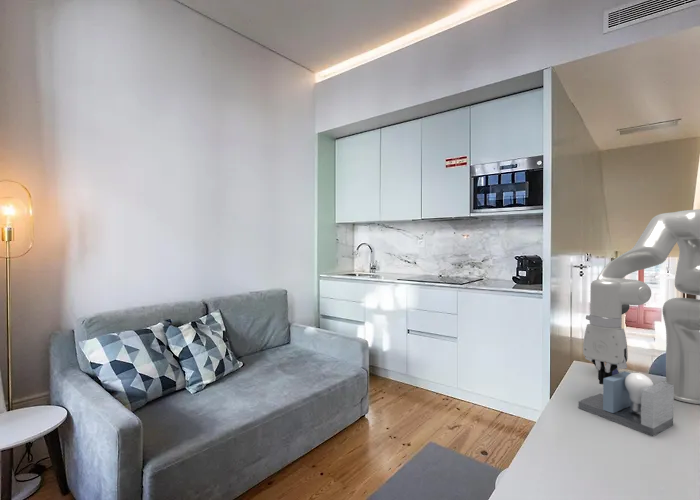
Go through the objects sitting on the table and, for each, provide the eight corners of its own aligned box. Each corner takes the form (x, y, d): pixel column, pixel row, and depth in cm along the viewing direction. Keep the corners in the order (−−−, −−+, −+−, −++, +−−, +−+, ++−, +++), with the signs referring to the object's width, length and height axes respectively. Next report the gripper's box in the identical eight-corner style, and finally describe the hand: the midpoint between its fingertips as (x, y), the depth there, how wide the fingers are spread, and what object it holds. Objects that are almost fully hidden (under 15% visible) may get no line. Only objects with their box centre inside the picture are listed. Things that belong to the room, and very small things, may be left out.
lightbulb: (642, 420, 95) (648, 380, 94) (616, 408, 100) (621, 370, 99) (654, 415, 98) (660, 376, 96) (628, 403, 103) (633, 367, 102)
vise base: (599, 399, 111) (600, 364, 111) (673, 425, 96) (673, 384, 96) (578, 408, 106) (578, 371, 106) (652, 436, 90) (653, 393, 90)
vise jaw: (624, 400, 106) (624, 371, 106) (634, 404, 103) (634, 374, 103) (603, 409, 100) (603, 378, 100) (613, 413, 98) (613, 381, 98)
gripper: (572, 318, 109) (571, 378, 110) (628, 328, 96) (628, 395, 96) (585, 316, 113) (585, 373, 113) (642, 325, 100) (641, 390, 100)
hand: (605, 383), depth 105 cm, fingers closed
